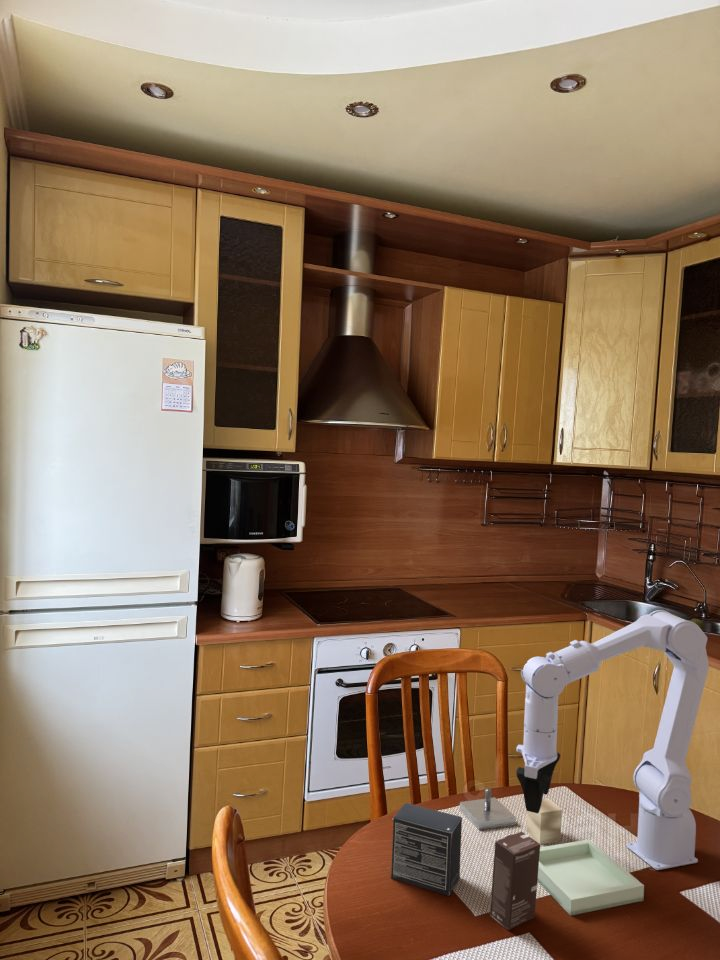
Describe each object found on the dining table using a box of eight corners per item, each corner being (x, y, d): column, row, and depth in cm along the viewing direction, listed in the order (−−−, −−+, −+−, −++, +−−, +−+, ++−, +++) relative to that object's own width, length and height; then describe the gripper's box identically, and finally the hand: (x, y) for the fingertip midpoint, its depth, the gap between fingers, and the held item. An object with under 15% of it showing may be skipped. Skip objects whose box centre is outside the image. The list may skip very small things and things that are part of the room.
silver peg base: (494, 804, 141) (495, 778, 141) (515, 824, 133) (516, 796, 133) (459, 809, 138) (460, 782, 138) (478, 830, 131) (480, 801, 131)
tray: (588, 852, 125) (589, 839, 124) (643, 900, 111) (644, 885, 111) (521, 864, 120) (522, 850, 120) (570, 915, 107) (571, 899, 107)
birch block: (546, 828, 132) (548, 798, 132) (560, 841, 128) (561, 809, 128) (526, 831, 131) (527, 801, 131) (539, 844, 127) (541, 812, 127)
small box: (461, 876, 116) (464, 815, 116) (450, 897, 110) (452, 833, 110) (403, 858, 120) (405, 800, 120) (389, 878, 115) (391, 817, 114)
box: (510, 933, 102) (514, 854, 102) (488, 915, 106) (492, 839, 106) (538, 919, 106) (541, 843, 105) (516, 903, 109) (519, 829, 109)
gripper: (527, 709, 130) (524, 779, 130) (508, 735, 117) (505, 814, 117) (565, 716, 127) (562, 788, 127) (550, 744, 114) (546, 825, 114)
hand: (537, 801), depth 122 cm, fingers open, 7 cm apart
